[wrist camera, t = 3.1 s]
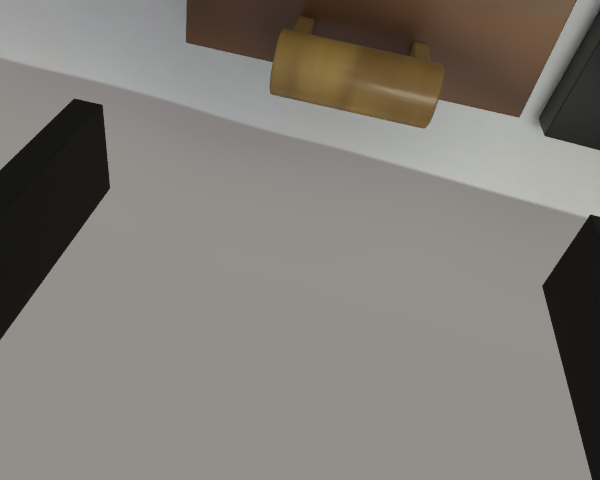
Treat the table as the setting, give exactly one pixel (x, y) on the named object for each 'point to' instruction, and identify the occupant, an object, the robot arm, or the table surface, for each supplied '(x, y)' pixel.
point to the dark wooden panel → (390, 50)
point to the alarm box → (578, 97)
